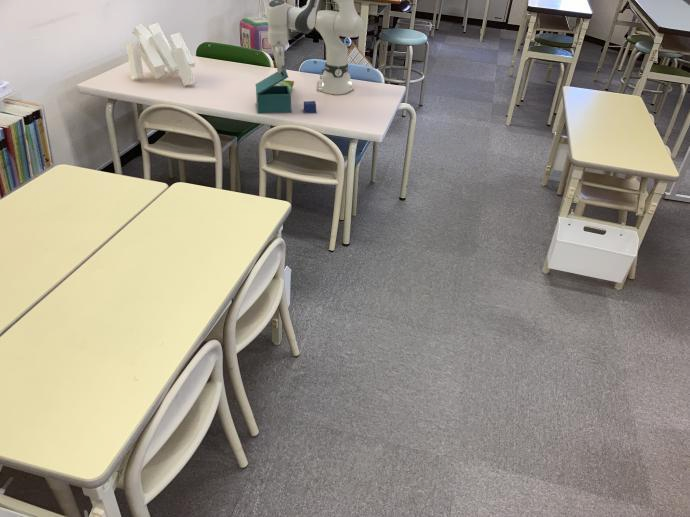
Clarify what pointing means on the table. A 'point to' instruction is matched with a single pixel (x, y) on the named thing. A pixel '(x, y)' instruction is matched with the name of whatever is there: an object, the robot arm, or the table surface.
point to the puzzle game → (286, 84)
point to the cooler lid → (271, 81)
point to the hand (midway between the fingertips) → (278, 70)
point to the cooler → (274, 100)
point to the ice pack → (309, 107)
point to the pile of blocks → (159, 54)
